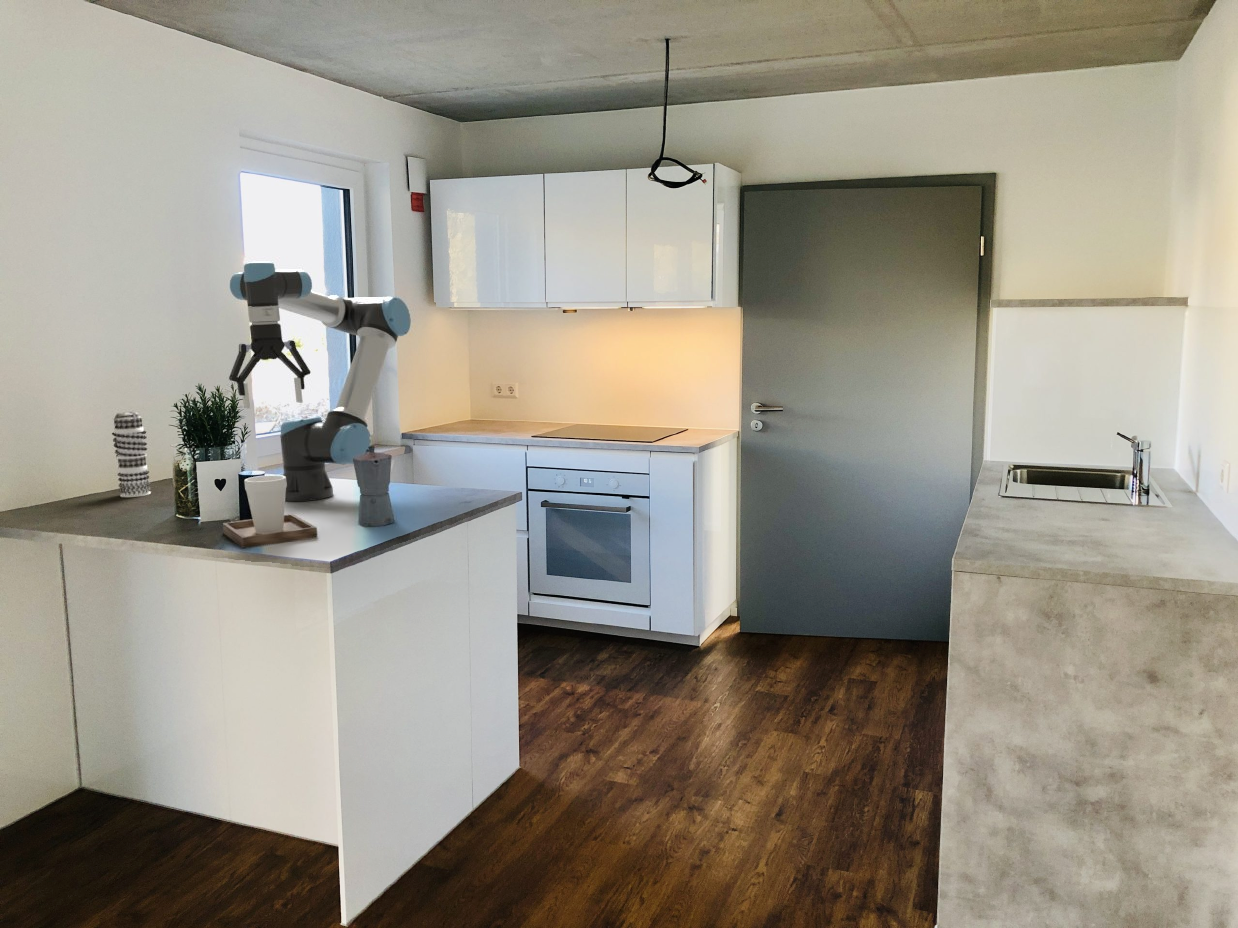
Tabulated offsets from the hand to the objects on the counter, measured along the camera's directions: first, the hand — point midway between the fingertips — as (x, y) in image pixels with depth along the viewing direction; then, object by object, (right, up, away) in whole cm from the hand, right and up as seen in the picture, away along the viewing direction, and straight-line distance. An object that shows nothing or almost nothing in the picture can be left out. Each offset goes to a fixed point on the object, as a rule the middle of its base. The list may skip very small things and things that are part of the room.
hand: (273, 405), depth 250 cm
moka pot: (+28, -31, -6) cm, 42 cm away
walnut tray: (+5, -33, -18) cm, 38 cm away
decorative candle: (-57, -25, +41) cm, 74 cm away
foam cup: (+5, -32, -18) cm, 37 cm away
